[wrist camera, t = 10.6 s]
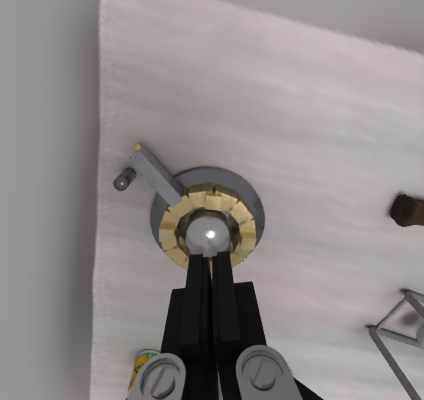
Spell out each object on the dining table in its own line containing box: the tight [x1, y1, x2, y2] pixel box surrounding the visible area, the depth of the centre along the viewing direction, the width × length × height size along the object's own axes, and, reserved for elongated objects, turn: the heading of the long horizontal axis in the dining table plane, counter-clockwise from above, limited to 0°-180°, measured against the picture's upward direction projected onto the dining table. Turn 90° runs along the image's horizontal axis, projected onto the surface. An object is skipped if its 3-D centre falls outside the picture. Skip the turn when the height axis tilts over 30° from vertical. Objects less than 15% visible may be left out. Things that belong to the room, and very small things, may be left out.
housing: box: [113, 144, 265, 257], centre depth 33 cm, size 16×21×5 cm
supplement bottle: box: [127, 350, 160, 398], centre depth 44 cm, size 5×5×10 cm
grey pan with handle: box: [128, 146, 256, 273], centre depth 32 cm, size 20×12×4 cm, turn 38°
